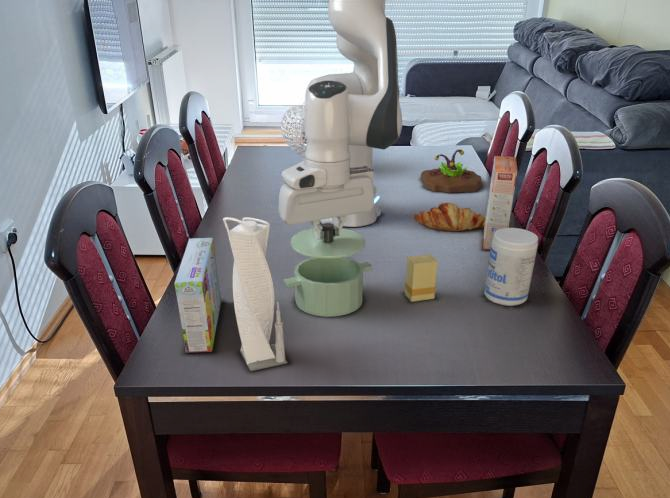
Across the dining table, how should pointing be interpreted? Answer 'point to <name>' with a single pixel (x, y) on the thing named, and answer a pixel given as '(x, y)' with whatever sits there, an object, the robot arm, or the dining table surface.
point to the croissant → (450, 218)
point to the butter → (421, 277)
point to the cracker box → (500, 197)
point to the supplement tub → (510, 266)
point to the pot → (328, 285)
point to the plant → (451, 177)
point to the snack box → (198, 295)
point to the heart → (291, 142)
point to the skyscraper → (254, 295)
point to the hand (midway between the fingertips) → (327, 236)
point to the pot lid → (328, 243)
